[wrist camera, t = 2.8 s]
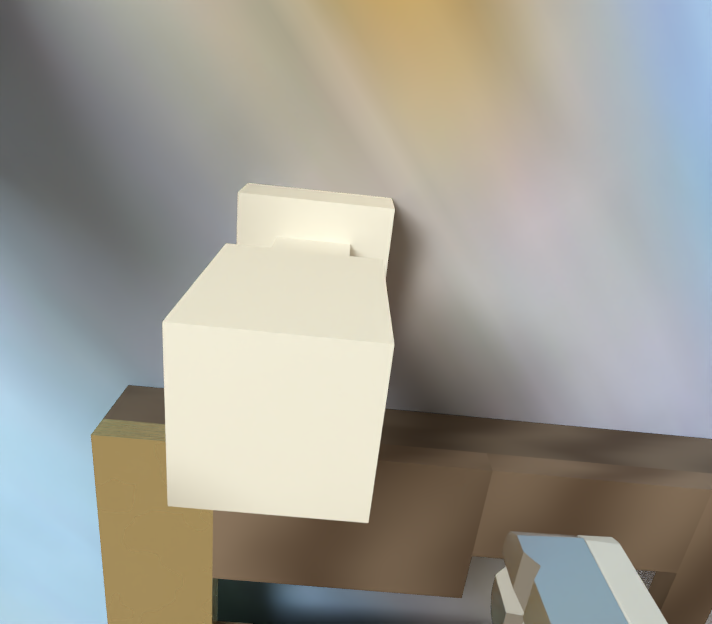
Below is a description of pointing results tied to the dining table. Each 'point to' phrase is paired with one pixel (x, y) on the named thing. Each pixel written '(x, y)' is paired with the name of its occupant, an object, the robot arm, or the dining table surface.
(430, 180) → the dining table surface
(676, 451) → the keyhole plate
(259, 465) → the keyed peg
